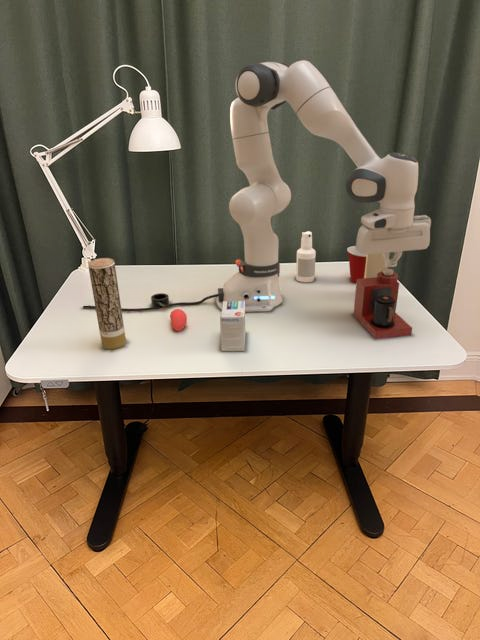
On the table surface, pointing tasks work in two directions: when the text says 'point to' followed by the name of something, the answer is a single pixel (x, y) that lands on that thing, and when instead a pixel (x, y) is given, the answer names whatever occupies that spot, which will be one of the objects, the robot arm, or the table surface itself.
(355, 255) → the plastic cup
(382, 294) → the warming base
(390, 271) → the power button
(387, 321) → the kettle
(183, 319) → the red bean-shaped piece
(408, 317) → the table surface
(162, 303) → the duct tape
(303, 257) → the spray bottle
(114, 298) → the paper tube
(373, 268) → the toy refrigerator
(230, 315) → the light bulb box
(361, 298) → the coffee maker
